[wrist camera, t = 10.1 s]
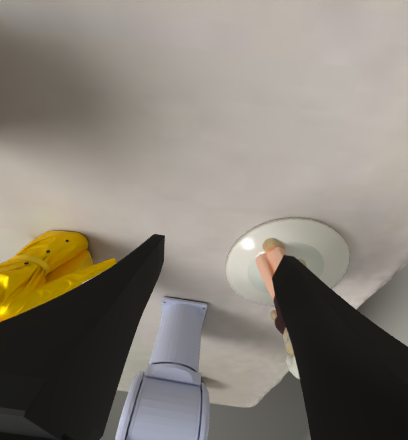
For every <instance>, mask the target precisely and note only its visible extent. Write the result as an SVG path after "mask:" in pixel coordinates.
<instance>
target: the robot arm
mask: <svg viewBox="0 0 408 440" xmlns="http://www.w3.org/2000/svg"><path fill="white" fill-rule="evenodd" d="M164 241H165V236H164V235H158V234H154V235H152V236H151V237H150V238H149V239H148V240H146V241H145V242H144V243H143V244H141V245H140V246H139V247H138V248H136V249H135V250H134V251H133V252H131V253H130V254H129V255H127V256H126V257H125V258H123V259H122V260H120V261H119V262H117V263H116V264H115V265H113V266H112V267H110V268H109V269H107V270H106V271H104V272H102V273H101V274H99V275H97V276H96V277H94V278H92V279H91V280H89V281H87V282H85V283H84V284H82V285H80V286H78V287H76V288H74V289H72V290H70V291H68V292H66V293H64V294H62V295H60V296H58V297H56V298H54V299H52V300H50V301H48V302H46V303H44V304H41V305H39V306H37V307H35V308H32V309H30V310H28V311H26V312H23V313H21V314H19V315H16V316H14V317H11V318H9V319H6V320H4V321H2V322H0V440H99V439H100V438H101V437H102V436H103V433H104V430H105V427H106V423H107V420H108V417H109V413H110V410H111V407H112V403H113V400H114V397H115V394H116V390H117V387H118V384H119V381H120V378H121V375H122V372H123V368H124V365H125V362H126V359H127V356H128V353H129V350H130V347H131V344H132V341H133V338H134V335H135V333H136V330H137V327H138V324H139V321H140V319H141V316H142V314H143V311H144V309H145V307H146V305H147V302H148V300H149V298H150V296H151V293H152V291H153V289H154V287H155V284H156V282H157V280H158V277H159V275H160V272H161V268H162V265H163V262H164ZM272 282H273V288H274V292H275V296H276V299H277V302H278V305H279V308H280V311H281V314H282V317H283V320H284V323H285V326H286V328H287V331H288V334H289V337H290V341H291V344H292V348H293V352H294V356H295V360H296V364H297V368H298V373H299V377H300V382H301V386H302V391H303V396H304V401H305V407H306V412H307V417H308V423H309V429H310V436H311V440H408V347H407V346H406V345H404V344H403V343H401V342H400V341H398V340H397V339H395V338H394V337H393V336H391V335H390V334H388V333H387V332H385V331H384V330H383V329H381V328H380V327H378V326H377V325H376V324H374V323H373V322H371V321H370V320H369V319H368V318H366V317H365V316H364V315H362V314H361V313H360V312H358V311H357V310H356V309H355V308H353V307H352V306H351V305H350V304H348V303H347V302H346V301H345V300H343V299H342V298H341V297H340V296H339V295H337V294H336V293H335V292H334V291H333V290H332V289H330V288H329V287H328V286H327V285H326V284H325V283H324V282H323V281H321V280H320V279H319V278H318V277H317V276H316V275H315V274H314V273H313V272H311V271H310V270H309V269H308V268H307V267H306V266H305V265H304V264H302V263H301V262H300V261H299V260H298V259H296V258H295V257H294V256H288V255H284V256H283V258H282V260H281V261H280V263H279V265H278V267H277V269H276V271H275V273H274V275H273V277H272ZM206 310H207V304H206V303H201V302H194V301H188V300H181V299H175V298H168V297H163V299H162V316H161V323H160V327H159V330H158V334H157V338H156V341H155V345H154V348H153V352H152V355H151V359H150V362H149V364H147V368H146V371H145V372H143V371H140V373H139V374H138V375H136V376H135V378H134V380H133V382H132V385H131V387H130V390H129V393H128V396H127V399H126V402H125V405H124V408H123V412H122V415H121V418H120V422H119V426H118V429H117V434H116V438H115V440H207V438H208V430H209V428H208V427H209V412H210V407H209V406H210V405H209V393H208V390H207V388H206V385H205V383H204V382H201V373H198V370H199V356H200V342H201V329H202V325H203V321H204V318H205V314H206ZM144 373H145V375H144Z"/></svg>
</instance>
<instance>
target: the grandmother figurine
mask: <svg viewBox="0 0 408 440" xmlns="http://www.w3.org/2000/svg"><path fill="white" fill-rule="evenodd" d="M263 249H264V250H265V251H266V253H264V254H260V255H259V256H258V257H257V258H256V265H257V268H258V270H259V272H260V274H261V277H262V279H263V281H264V282H265V284H266V287H267V289H268V291H269V293H270V295H271V297H272V299H273V301H274V305H275V309H276V310H274V311H272V312H271V318H272V319H273V320H274V323H275V325H276V328H277V329H278V330H279V331H280V332H281V333H282V334H283V341H284V345H285V348H286V350H287V352H288V355H287V362H286V363H287V366H288V367H289V370H290V372H291V373H292V374H293V375H294V376H295V377H296V378H298V379H300V377H299V373H298V368H297V364H296V360H295V356H294V352H293V348H292V344H291V341H290V337H289V334H288V331H287V328H286V326H285V323H284V320H283V317H282V314H281V311H280V308H279V305H278V302H277V299H276V296H275V292H274V288H273V282H272V277H273V275H274V273H275V271H276V269H277V267H278V265H279V263H280V261H281V260H282V258H283V256H284V255H287V254H286V252H285V245H284V244H283V243H281V242H279V241H278V240H276V239H274V238H269V239H267V240H265V241H264V243H263ZM298 260H299V261H300V262H301V263H302V264H304V265H305V266H306V262H305V261H303V260H302V259H298Z"/></svg>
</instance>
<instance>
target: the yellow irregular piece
mask: <svg viewBox="0 0 408 440" xmlns="http://www.w3.org/2000/svg"><path fill="white" fill-rule="evenodd" d="M87 249H88V240H87V239H86V237H84V236H83V235H82V234H80V233H77V232H68V231H48V232H46V233H44V234H42V235H41V236H39V237H38V238H36V239H35V240H33V241H32V242H30V243H29V244H27V245H26V246H25V247H24V248H23V249H22V250H21V251H19V252H18V253H17V254H16V255H15V256H14V257H12V258H11V259H9V260H8V261H6V262H3V263H1V264H0V322H2V321H4V320H6V319H9V318H11V317H14V316H16V315H19V314H21V313H23V312H26V311H28V310H30V309H32V308H35V307H37V306H39V305H41V304H44V303H46V302H48V301H50V300H52V299H54V298H56V297H58V296H60V295H62V294H64V293H66V292H68V291H70V290H72V289H74V288H76V287H78V286H80V285H81V284H82V283H83V282H85V281H87V280H89V279H91V278H93V277H95V276H96V275H98V274H100V273H102V272H103V271H105V270H107V269H109V268H110V267H112V266H113V265H115V264H116V261H115V259H114V258H112V259H109V260H106V261H103V262H100V263H97V264H95V265H93V260H92V257H91V255H90V252H89V251H88V250H87Z"/></svg>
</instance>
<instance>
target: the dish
mask: <svg viewBox="0 0 408 440" xmlns="http://www.w3.org/2000/svg"><path fill="white" fill-rule="evenodd" d="M269 238H274V239H276V240H278V241H279V242H281V243H283V244H284V245H285V252H286V254H287V255H288V256H294V257H295V258H296V259H302V260H303V261H305V262H306V267H307V268H308V269H309V270H310V271H311V272H313V273H314V274H315V275H316V276H317V277H318V278H319V279H320V280H321V281H323V282H324V283H325V284H326V285H327V286H328V287H329V288H330V289H331V288H333V287H334V286H335V285H336V284H337V283H338V282H339V281H340V280H341V278H342V277H343V276H344V274H345V272H346V270H347V268H348V265H349V259H350V255H349V249H348V246H347V244H346V242H345V240H344V239H343V238H342V237H341V236H340V235H339V234H338V233H337V232H336V231H335V230H333V229H332V228H331V227H330V226H328V225H326V224H324V223H322V222H319V221H317V220H313V219H309V218H301V217H289V218H280V219H276V220H272V221H269V222H266V223H263V224H261V225H258V226H256V227H254V228H253V229H251V230H249V231H248V232H246V233H245V234H244V235H242V236H241V237H240V238H239V239H238V240H237V241H236V243H235V244H234V245H233V246H232V248H231V250H230V251H229V254H228V256H227V261H226V274H227V279H228V282H229V284H230V286H231V287H232V288H233V290H234V291H235V292H236V293H237V294H238V295H240V296H241V297H243V298H244V299H246V300H248V301H251V302H253V303H257V304H261V305H266V306H275V305H274V301H273V299H272V297H271V295H270V293H269V291H268V289H267V287H266V284H265V282H264V281H263V279H262V277H261V274H260V272H259V270H258V268H257V265H256V258H257V257H258V256H259V255H260V254H264V253H266V251H265V250H264V249H263V243H264V241H265V240H267V239H269Z"/></svg>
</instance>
